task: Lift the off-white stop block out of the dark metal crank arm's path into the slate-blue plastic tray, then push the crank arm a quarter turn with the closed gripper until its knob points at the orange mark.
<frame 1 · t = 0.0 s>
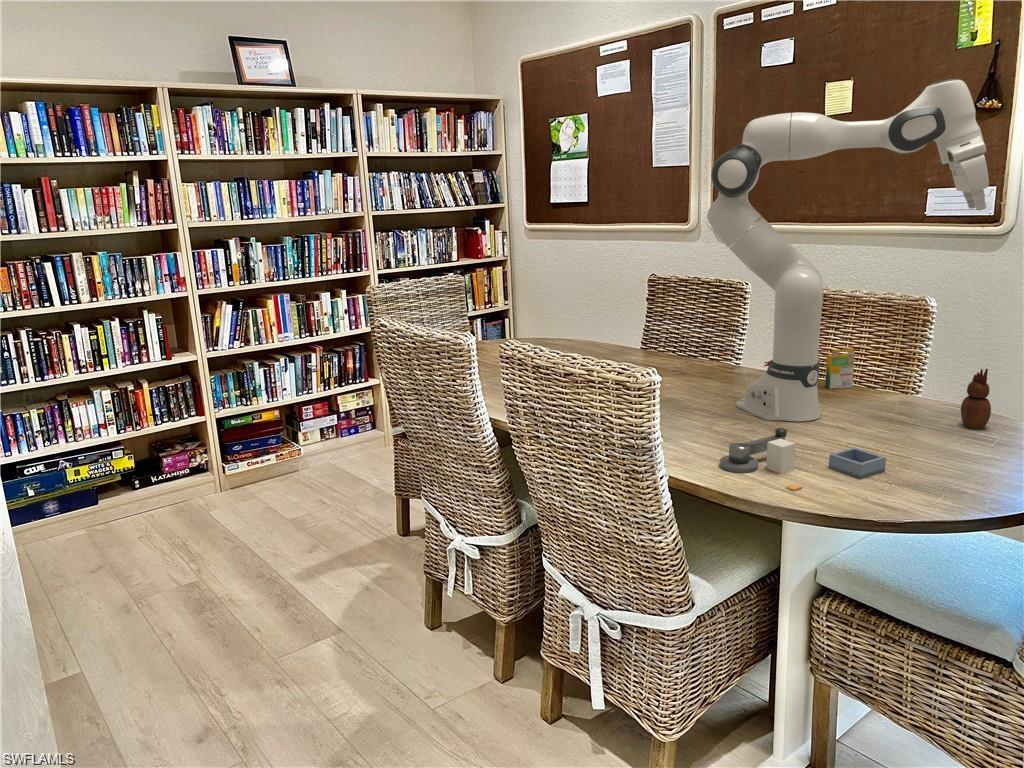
hand: (977, 208, 177), 52 cm above the table, tool tilted 20°, fingers open, 8 cm apart
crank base: (738, 466, 168), on the table
wooden figurine: (973, 427, 188), on the table
crank arm: (758, 445, 170), point 4 cm above the table, hinge at 0.0°
tray: (856, 469, 164), on the table
stop block: (780, 469, 166), on the table
crayon box: (838, 387, 227), on the table
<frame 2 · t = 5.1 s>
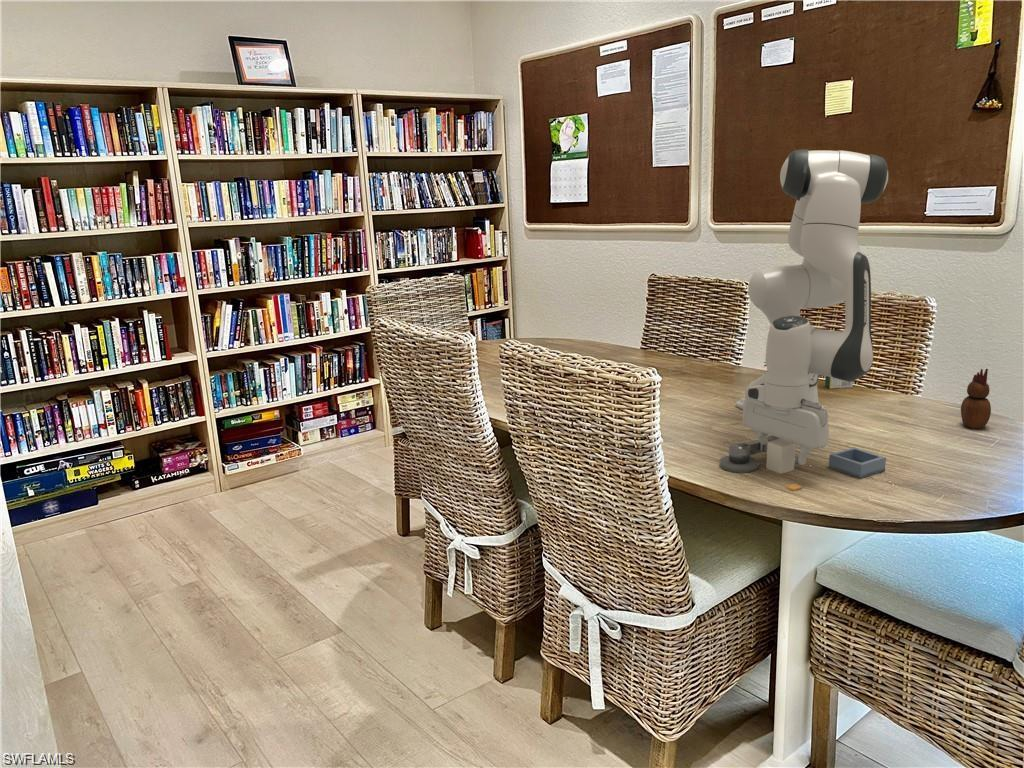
hand: (782, 457, 165), 3 cm above the table, tool pointing down, fingers open, 8 cm apart
crank arm: (758, 445, 170), point 4 cm above the table, hinge at 0.0°, touching gripper
everything else where it was.
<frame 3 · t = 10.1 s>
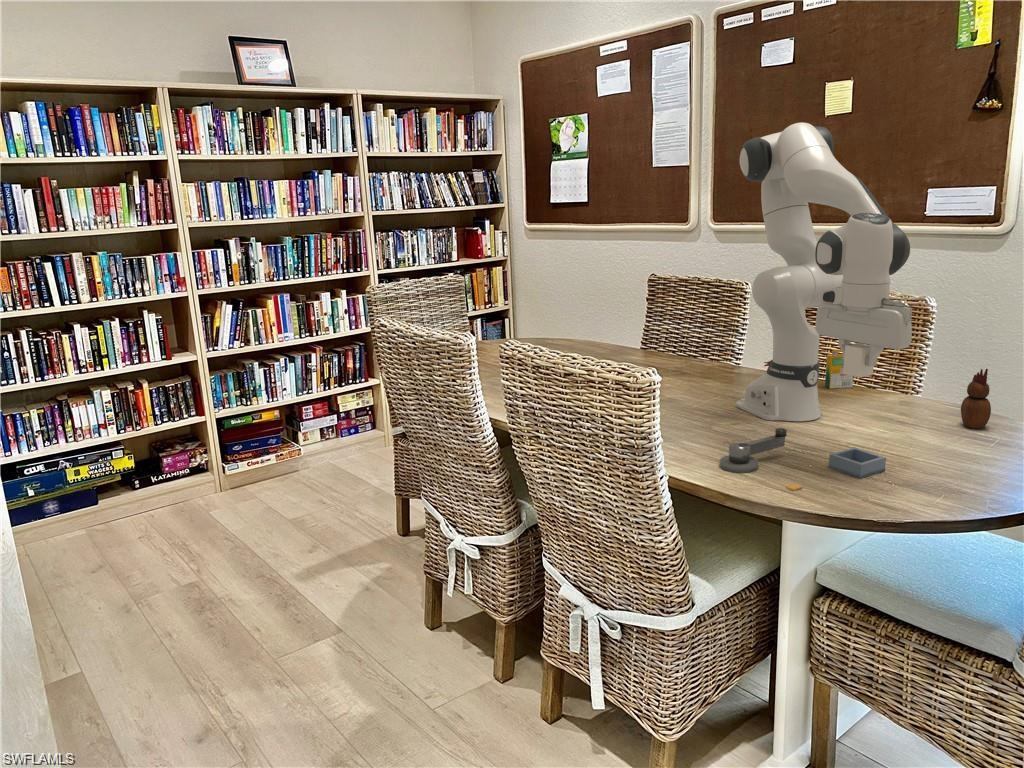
hand: (858, 363, 158), 23 cm above the table, tool pointing down, fingers closed on stop block, 4 cm apart
crank arm: (758, 445, 170), point 4 cm above the table, hinge at 0.0°
stop block: (857, 374, 159), point 21 cm above the table, touching gripper
everything else where it was.
when the fingers open (4 cm above the table, at t = 14.3 s): stop block drops 1 cm, resting on tray.
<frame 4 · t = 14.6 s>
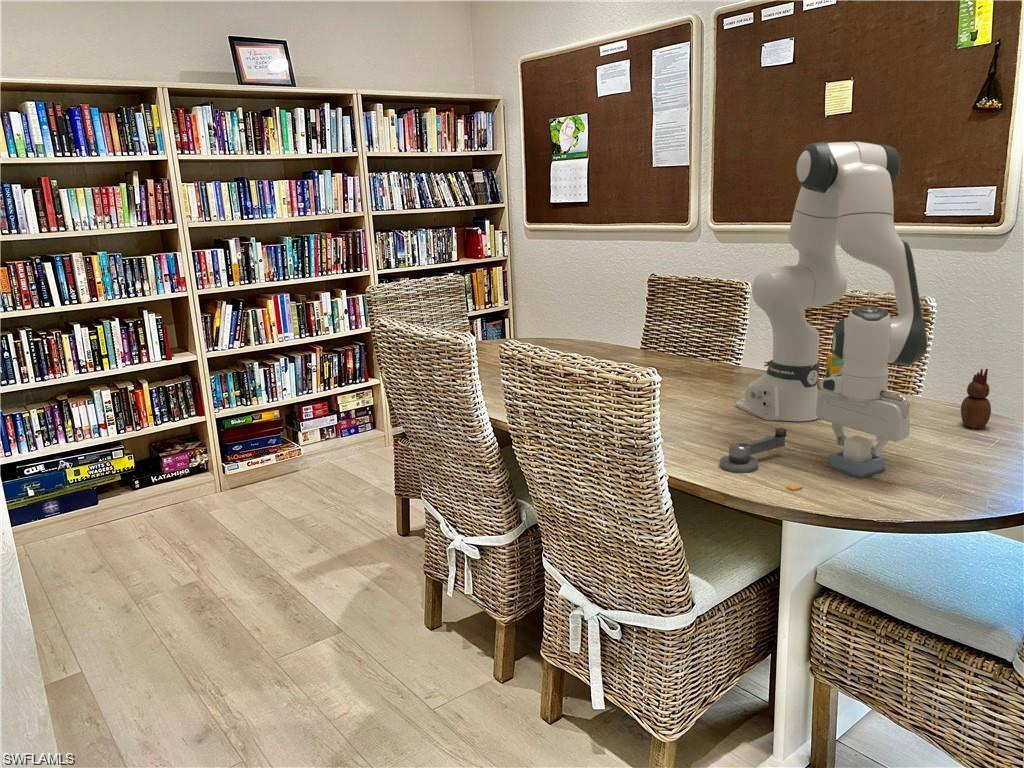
hand: (858, 449, 163), 4 cm above the table, tool pointing down, fingers open, 7 cm apart
stop block: (856, 466, 164), point 1 cm above the table, touching tray
everything else where it was.
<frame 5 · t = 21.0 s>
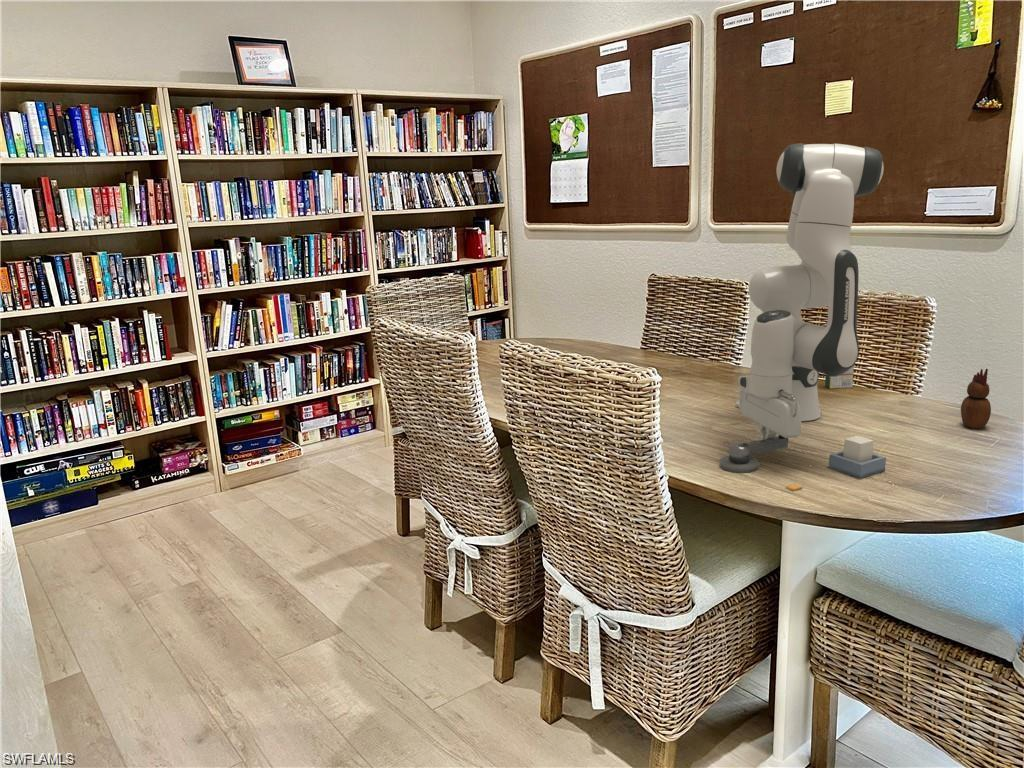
hand: (767, 444, 173), 3 cm above the table, tool pointing down, fingers closed
crank arm: (760, 445, 169), point 4 cm above the table, hinge at -4.8°, touching gripper
everything else where it was.
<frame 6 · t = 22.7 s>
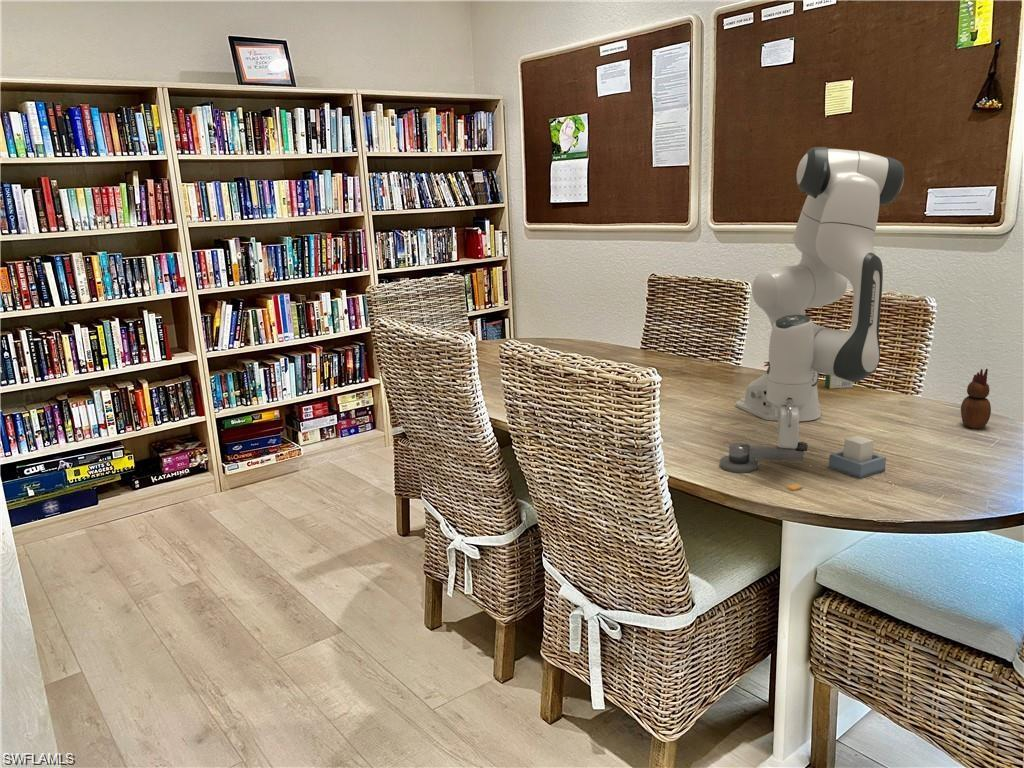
hand: (785, 454, 166), 3 cm above the table, tool pointing down, fingers closed
crank arm: (767, 451, 165), point 4 cm above the table, hinge at -45.8°, touching gripper
everything else where it was.
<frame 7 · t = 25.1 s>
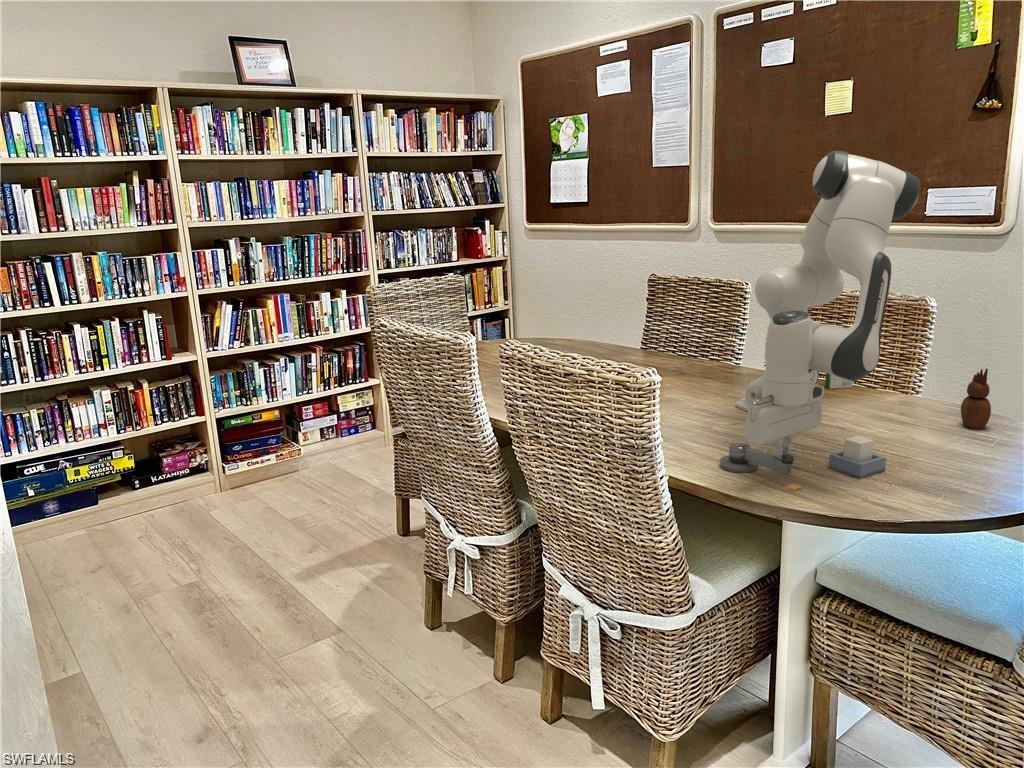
hand: (781, 455, 160), 5 cm above the table, tool pointing down, fingers closed
crank arm: (760, 457, 162), point 4 cm above the table, hinge at -87.3°, touching gripper
everything else where it was.
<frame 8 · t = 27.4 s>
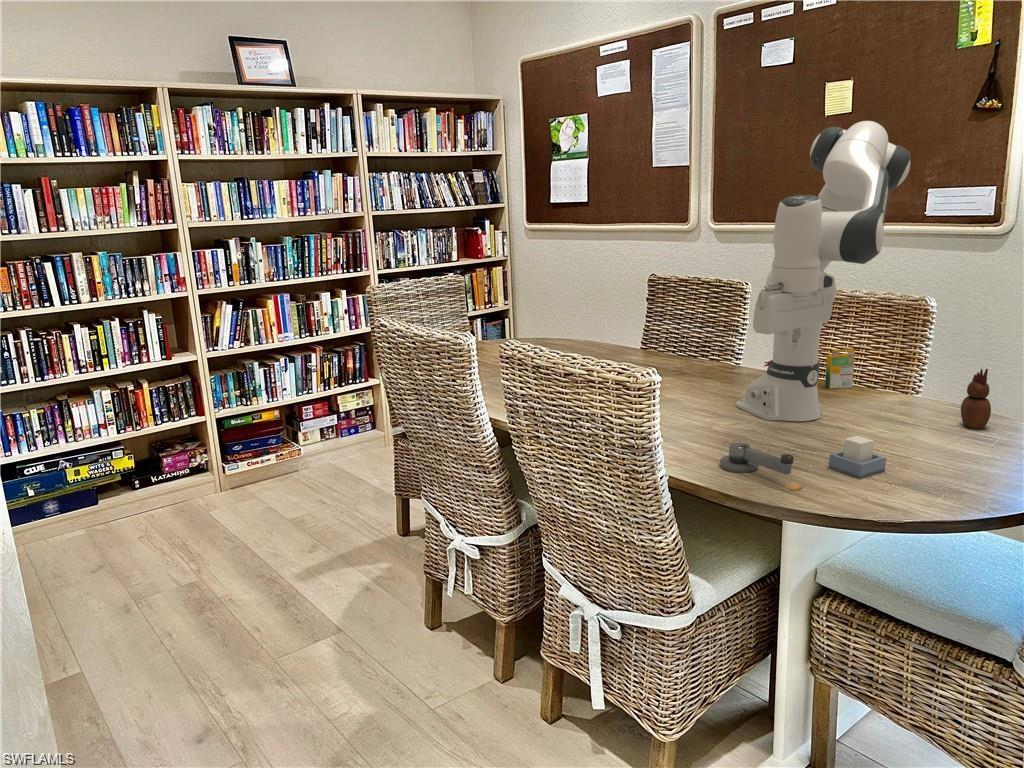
hand: (790, 350, 154), 27 cm above the table, tool pointing down, fingers closed
crank arm: (760, 457, 162), point 4 cm above the table, hinge at -87.7°
everything else where it was.
at the end: stop block 0.0 cm off-centre on the tray, point 0.6 cm above the tray's base; stop block tilted 0°; crank arm at -88° (first picture: +0°) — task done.
